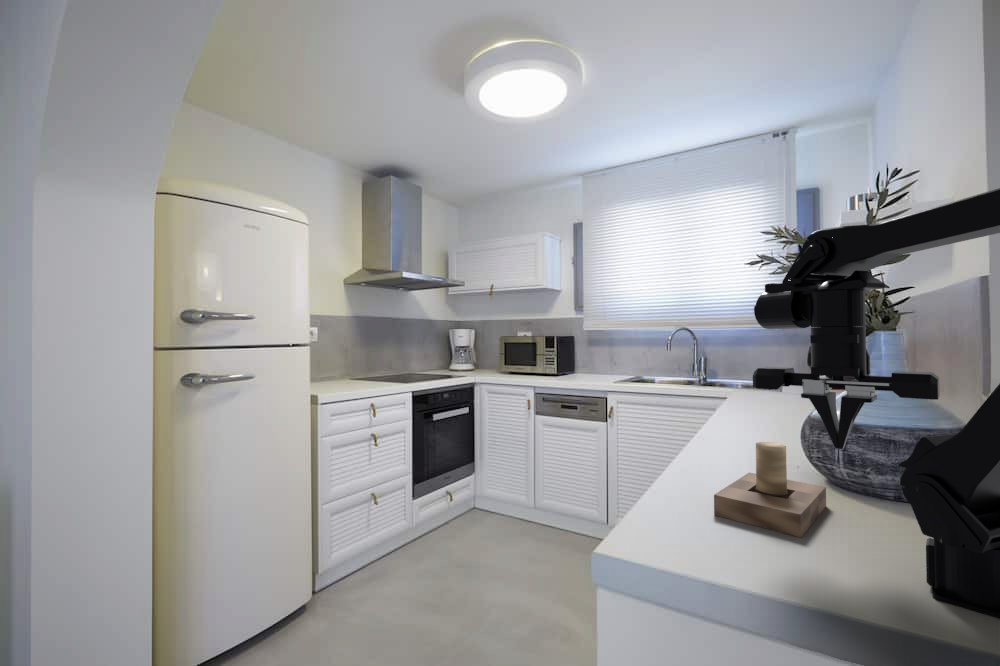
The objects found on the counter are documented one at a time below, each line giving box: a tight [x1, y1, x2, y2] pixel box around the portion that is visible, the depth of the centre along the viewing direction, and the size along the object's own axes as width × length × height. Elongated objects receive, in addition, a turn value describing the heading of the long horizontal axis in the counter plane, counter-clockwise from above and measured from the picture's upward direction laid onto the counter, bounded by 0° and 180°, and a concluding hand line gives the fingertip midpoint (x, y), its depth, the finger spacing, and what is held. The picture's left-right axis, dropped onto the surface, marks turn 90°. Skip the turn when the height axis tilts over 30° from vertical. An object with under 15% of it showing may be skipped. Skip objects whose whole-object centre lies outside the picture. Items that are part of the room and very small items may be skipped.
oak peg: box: [755, 441, 788, 499], centre depth 69 cm, size 4×4×10 cm
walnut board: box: [713, 472, 827, 538], centre depth 69 cm, size 11×16×3 cm
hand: (839, 448), depth 59 cm, fingers closed
